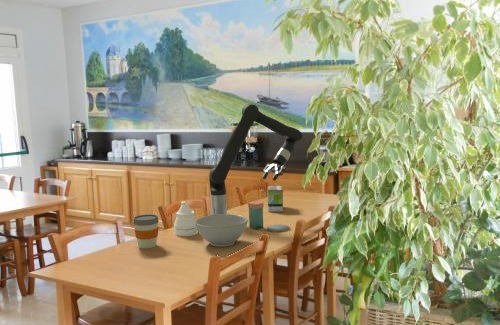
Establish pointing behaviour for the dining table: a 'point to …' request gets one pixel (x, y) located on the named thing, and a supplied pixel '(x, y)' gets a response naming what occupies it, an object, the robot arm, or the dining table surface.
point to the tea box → (275, 198)
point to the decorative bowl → (221, 228)
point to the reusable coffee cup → (146, 230)
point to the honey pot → (185, 221)
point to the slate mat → (278, 228)
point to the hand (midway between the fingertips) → (268, 179)
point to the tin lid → (255, 205)
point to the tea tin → (256, 218)
